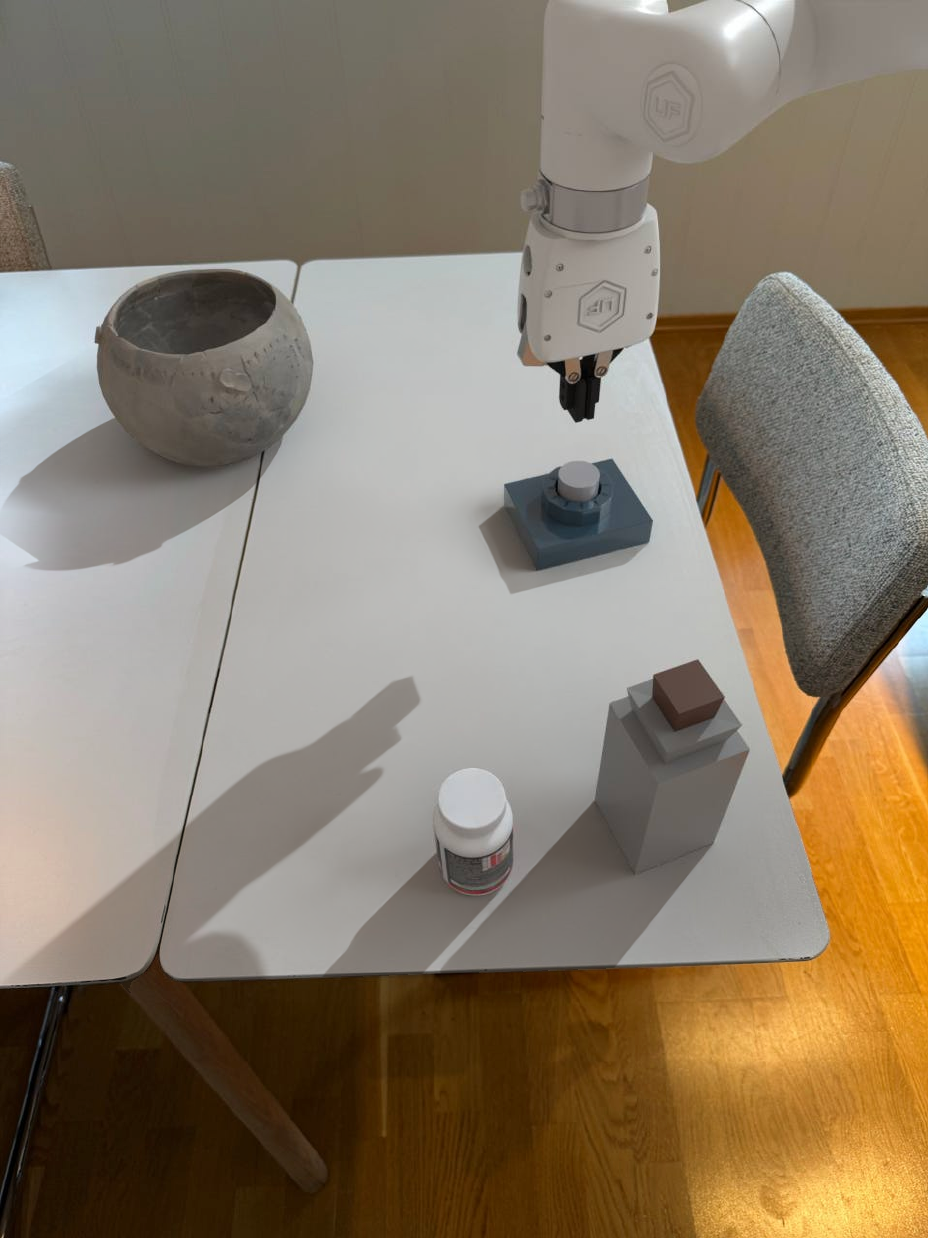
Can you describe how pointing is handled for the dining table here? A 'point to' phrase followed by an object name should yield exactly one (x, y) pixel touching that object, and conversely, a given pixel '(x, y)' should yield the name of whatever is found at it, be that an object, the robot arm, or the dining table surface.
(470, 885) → the pill bottle
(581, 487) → the grey button cap
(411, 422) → the dining table surface
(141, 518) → the dining table surface
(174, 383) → the bowl
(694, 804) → the perfume bottle
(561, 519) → the button housing
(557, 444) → the dining table surface
